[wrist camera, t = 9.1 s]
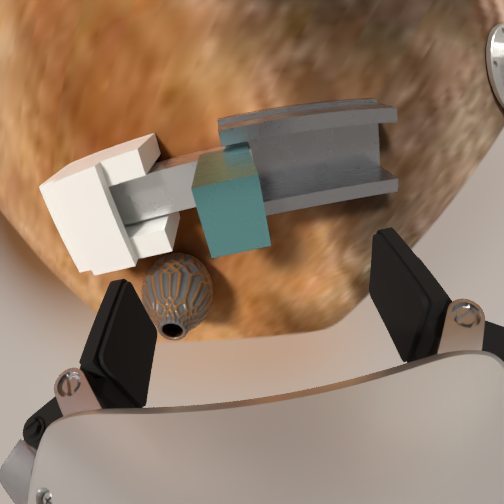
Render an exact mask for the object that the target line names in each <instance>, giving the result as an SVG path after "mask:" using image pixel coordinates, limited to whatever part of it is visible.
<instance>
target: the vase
mask: <svg viewBox="0 0 504 504" xmlns="http://www.w3.org/2000/svg"><path fill="white" fill-rule="evenodd" d="M212 300H213V285H212V280H211V277H210V274H209V272H208V270H207V269H206V267H205V266H204V265H203V263H202V262H201V261H199V260H198V259H197V258H195V257H193V256H191V255H189V254H185V253H170V254H167V255H164V256H162V257H161V258H159V259H158V260H157V261H155V262H154V263H153V264H152V266H151V267H150V268H149V270H148V271H147V274H146V276H145V278H144V281H143V286H142V301H143V306H144V308H145V310H146V311H147V313H148V315H149V317H150V319H151V320H152V322H153V323H154V324H155V325H156V326H157V328H158V331H159V333H160V334H161V335H162V336H163V337H164V338H166V339H169V340H180V339H182V338H184V337H185V335H186V334H187V333H188V331H190V330H192V329H193V328H195V327H196V326H198V325H199V324H200V323H201V322H202V321H203V320H204V319H205V317H206V316H207V314H208V312H209V310H210V307H211V304H212Z"/></svg>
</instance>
